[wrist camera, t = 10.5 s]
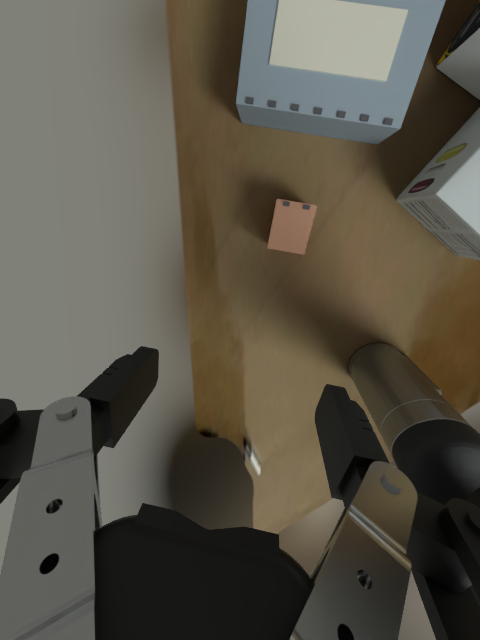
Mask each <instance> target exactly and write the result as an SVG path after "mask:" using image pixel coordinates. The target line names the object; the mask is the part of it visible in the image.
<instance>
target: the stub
mask: <svg viewBox="0 0 480 640" xmlns="http://www.w3.org/2000/svg"><path fill="white" fill-rule="evenodd" d="M316 209H317V205H312V204H306V203H300V202H294V201H288V200H282V199H277V200H276V204H275V209H274V214H273V219H272V224H271V229H270V234H269V240H268V246H267V248H268V249H274V250H279V251H285V252H291V253H296V254H302V255H304V254H305V251H306V247H307V243H308V239H309V235H310V232H311V228H312V224H313V220H314V216H315V213H316Z"/></svg>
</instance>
